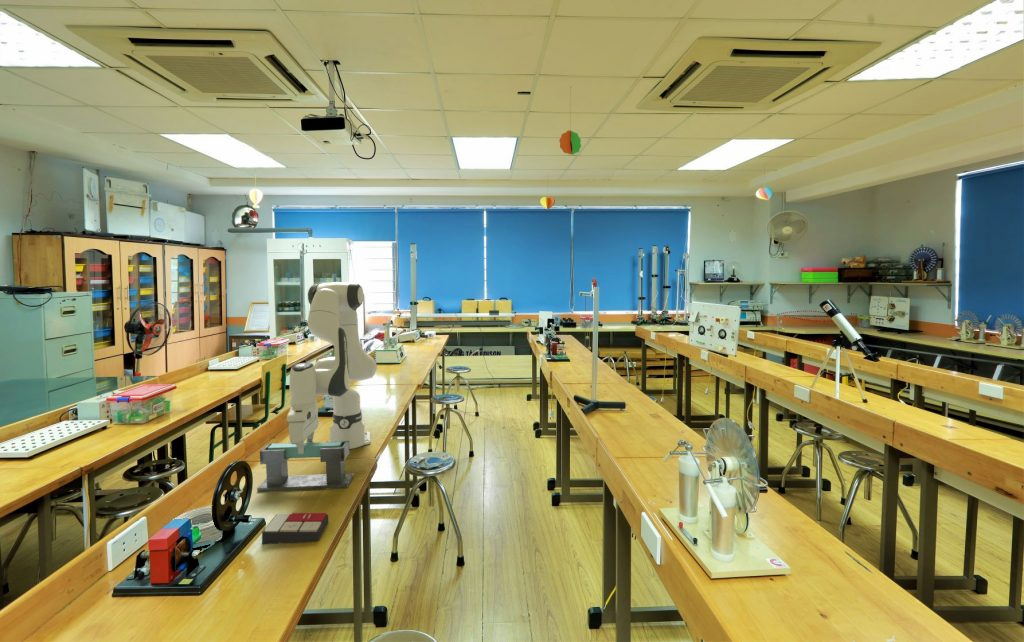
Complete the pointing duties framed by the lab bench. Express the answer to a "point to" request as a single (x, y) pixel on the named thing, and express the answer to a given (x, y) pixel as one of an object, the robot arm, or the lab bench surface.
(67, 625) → the lab bench surface
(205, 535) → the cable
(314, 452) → the rail
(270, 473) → the bracket stand
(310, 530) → the large key keypad
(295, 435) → the robot arm
